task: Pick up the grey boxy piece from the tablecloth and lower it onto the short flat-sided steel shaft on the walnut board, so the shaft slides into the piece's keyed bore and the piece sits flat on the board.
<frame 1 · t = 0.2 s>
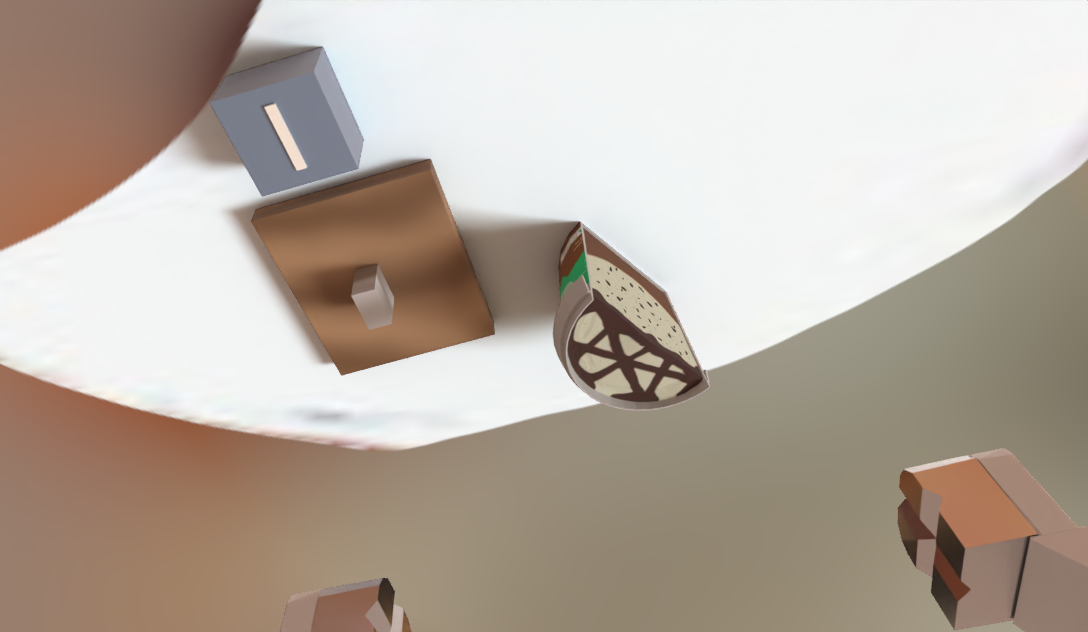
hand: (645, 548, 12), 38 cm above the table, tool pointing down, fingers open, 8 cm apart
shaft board: (376, 271, 54), on the table
food container: (594, 282, 57), on the table
grey boxy piece: (297, 108, 46), on the table
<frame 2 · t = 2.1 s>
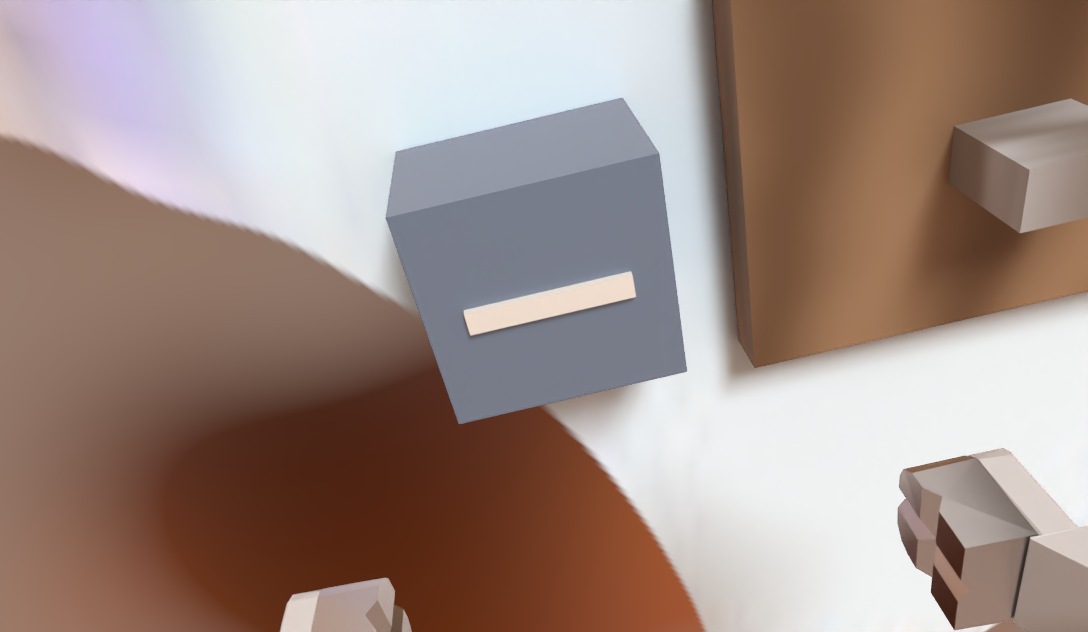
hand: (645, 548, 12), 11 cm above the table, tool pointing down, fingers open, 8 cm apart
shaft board: (974, 123, 21), on the table
grey boxy piece: (533, 227, 21), on the table
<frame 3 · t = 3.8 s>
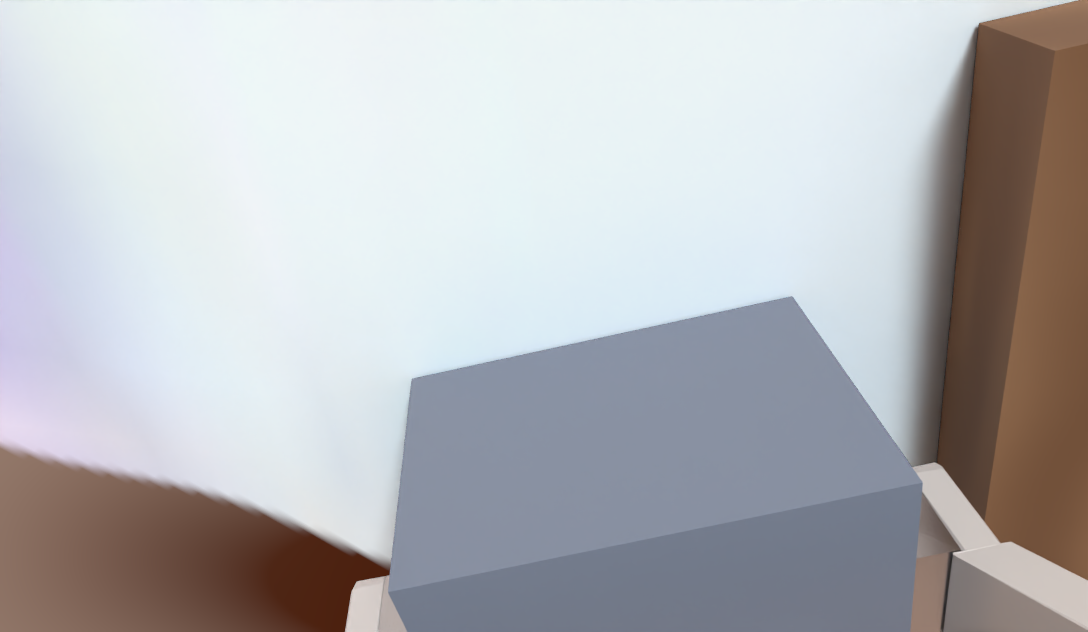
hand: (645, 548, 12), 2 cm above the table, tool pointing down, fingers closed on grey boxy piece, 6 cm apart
grey boxy piece: (628, 476, 13), on the table, touching gripper
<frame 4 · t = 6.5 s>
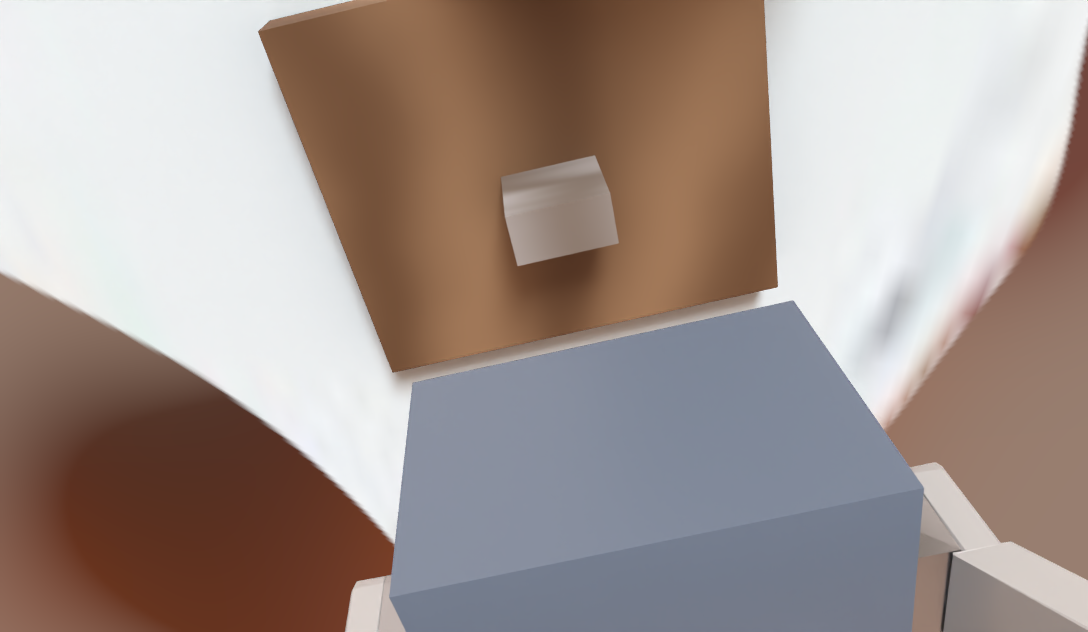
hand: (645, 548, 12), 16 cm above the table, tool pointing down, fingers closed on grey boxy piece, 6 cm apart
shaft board: (548, 172, 26), on the table
grey boxy piece: (628, 480, 13), point 14 cm above the table, touching gripper
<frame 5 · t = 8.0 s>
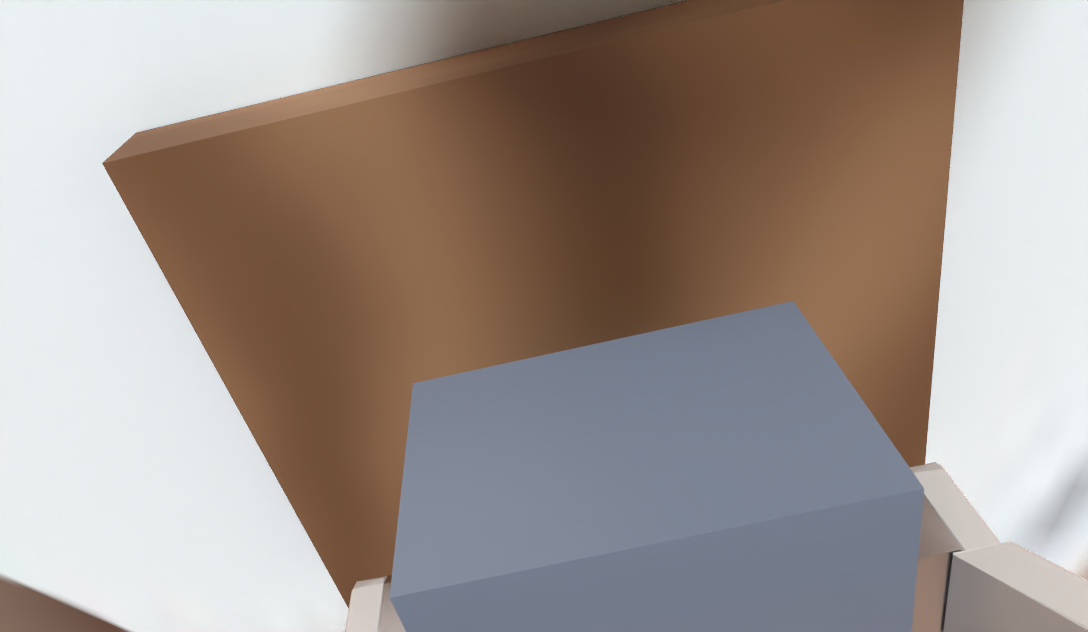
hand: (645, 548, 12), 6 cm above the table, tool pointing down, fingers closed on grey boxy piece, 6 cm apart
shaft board: (585, 340, 17), on the table
grey boxy piece: (629, 480, 13), point 4 cm above the table, touching gripper
when the fingers open (4 cm above the table, at t = 9.2 s): grey boxy piece stays where it is, resting on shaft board.
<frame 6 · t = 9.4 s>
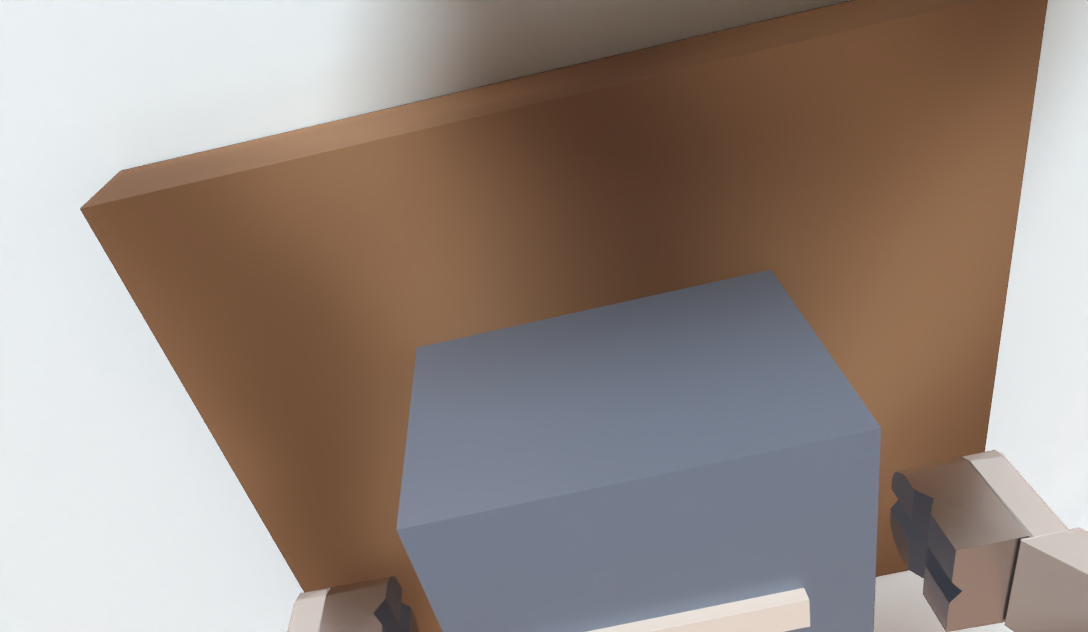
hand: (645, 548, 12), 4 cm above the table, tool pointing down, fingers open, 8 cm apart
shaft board: (608, 390, 16), on the table
grey boxy piece: (619, 442, 14), point 1 cm above the table, touching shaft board
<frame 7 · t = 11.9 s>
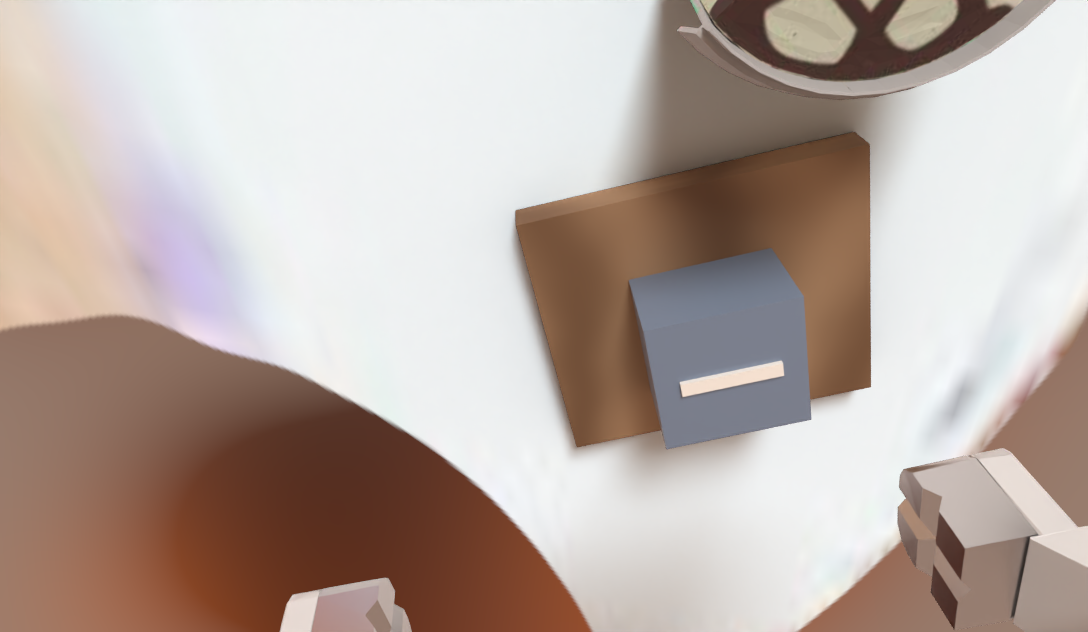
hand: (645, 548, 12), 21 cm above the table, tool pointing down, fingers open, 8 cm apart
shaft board: (700, 304, 35), on the table
grey boxy piece: (707, 323, 33), point 1 cm above the table, touching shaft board
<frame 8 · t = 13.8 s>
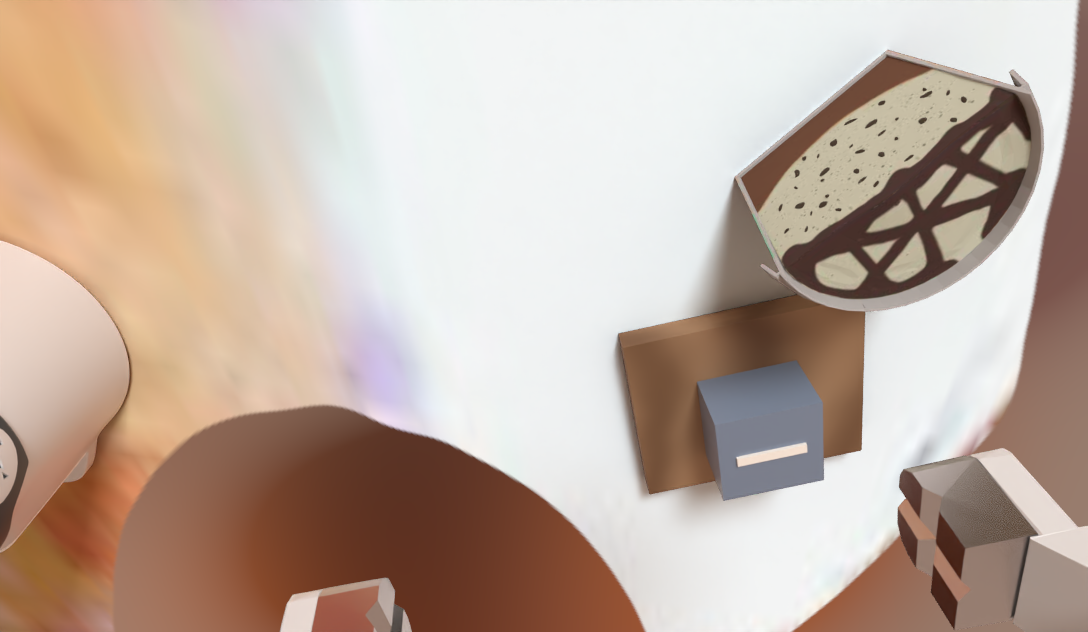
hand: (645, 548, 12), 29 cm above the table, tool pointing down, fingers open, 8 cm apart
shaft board: (742, 393, 48), on the table
food container: (837, 155, 41), on the table
grey boxy piece: (749, 409, 47), point 1 cm above the table, touching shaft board
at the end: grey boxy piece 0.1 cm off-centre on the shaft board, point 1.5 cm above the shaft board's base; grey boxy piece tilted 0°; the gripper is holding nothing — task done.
